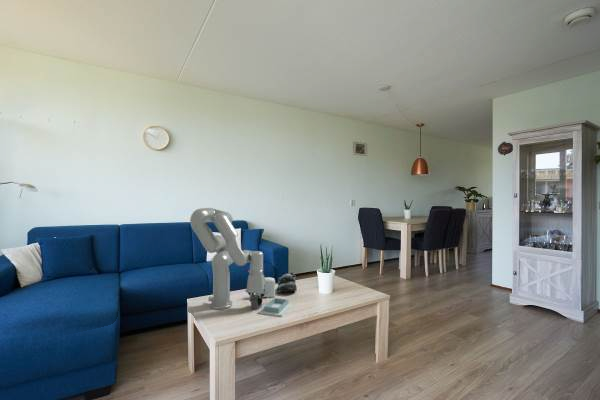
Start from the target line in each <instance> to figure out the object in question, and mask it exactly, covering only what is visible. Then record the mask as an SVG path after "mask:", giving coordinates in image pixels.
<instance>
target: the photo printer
mask: <svg viewBox="0 0 600 400" xmlns="http://www.w3.org/2000/svg"><path fill="white" fill-rule="evenodd" d="M265 288H266V290H267V292H268V293H267V294H266V295H264V296H263V297H262V298H276V280H275V278H273V277H270V276H269V277H265ZM263 293H264V292H263Z"/></svg>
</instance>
